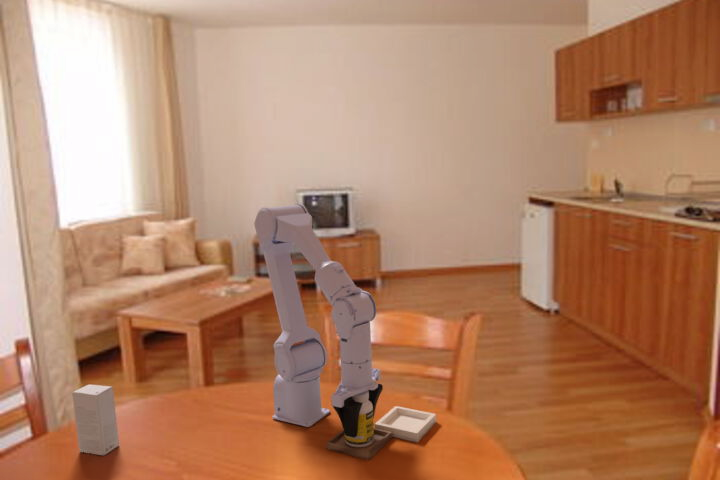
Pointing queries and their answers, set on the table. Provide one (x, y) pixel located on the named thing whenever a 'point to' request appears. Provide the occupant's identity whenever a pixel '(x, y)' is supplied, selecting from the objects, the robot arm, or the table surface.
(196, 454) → the table surface
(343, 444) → the gray square tray
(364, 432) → the supplement bottle
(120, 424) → the table surface
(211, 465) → the table surface
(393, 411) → the cream tray
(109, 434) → the skincare box
